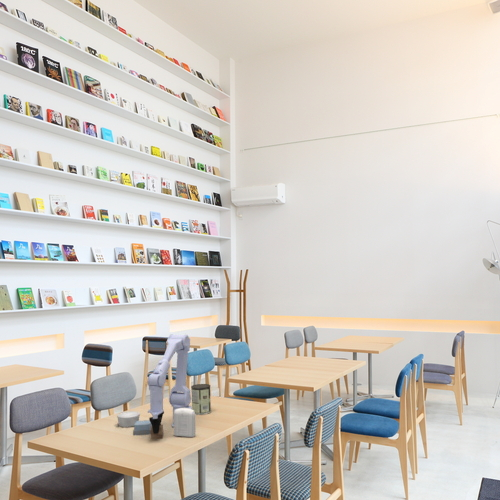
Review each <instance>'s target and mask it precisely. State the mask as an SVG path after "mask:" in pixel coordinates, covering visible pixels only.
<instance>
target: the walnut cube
mask: <svg viewBox="0 0 500 500" xmlns="http://www.w3.org/2000/svg"><path fill="white" fill-rule="evenodd" d="M163 437H164V424H162V423H161V425H160V427H159V433H158V434H154V433H153V428H152V427H151V434H150V440H162V439H163Z"/></svg>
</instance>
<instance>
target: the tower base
mask: <svg viewBox="0 0 500 500" xmlns="http://www.w3.org/2000/svg"><path fill="white" fill-rule="evenodd" d="M151 427H152V426H151ZM132 435H133V436H143V435H144V436H146V435H147V436H149V435H151V428H150V430H137V431H134V429H133V430H132Z"/></svg>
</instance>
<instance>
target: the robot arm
mask: <svg viewBox="0 0 500 500" xmlns="http://www.w3.org/2000/svg"><path fill="white" fill-rule="evenodd" d="M166 345H167V346H166V349H165V352H164V354H163V357H162V359H160V360H158V362H157V364H156V366H155V369H153V372H152V373H151V374H150V375H148V377H147V380H146V381H147V386H148V390H149V393H150V394H149V396H150V397H149V399H150V400H149V403H150V405H149V406H150V407H149V408H150V409H148V410H147V413H150V414H151V415H152V416H150V417H149V418H148V420H150V422H151V424H152V428H153V433H154V434H158V433H159V427H160V425H161V424H162V420H163V415H164V414H165V410H164V386H165V384H166V378H167V373H168V371H169V369H170V367H171V365H170V362H171V360H172V358H173V356H174V355H175V353H176V354H177V356H176V357H177V359H176V368H175V369H176V371H175V381H174V383H175V384H174V386H173V387H172V388H171V389H170V393H169V396H168V403H169V404H170V405H171V406H170V407H172V424H171V427H172V428H174V411H175V410H176V409H179V408H189V409H192V405H190V404H191V403H192V394H191V389H190V388H188V387H187V374H188V373H187V371H188V358H189V356H188V355H189V352H190V347H191V339H190V337H189V335H188V334H169V336H168V337H167V340H166Z"/></svg>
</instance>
